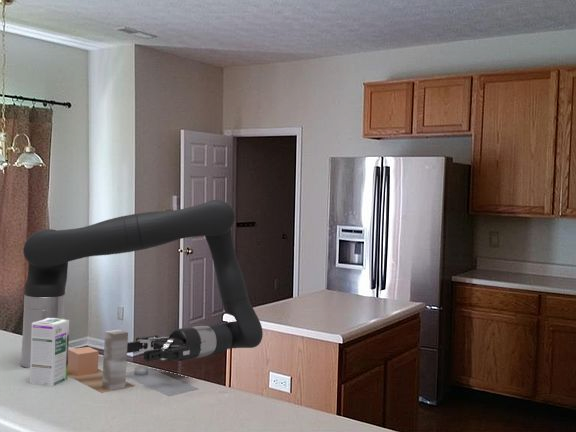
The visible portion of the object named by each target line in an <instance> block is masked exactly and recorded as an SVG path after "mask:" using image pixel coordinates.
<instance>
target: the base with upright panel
mask: <svg viewBox="0 0 576 432" xmlns="http://www.w3.org/2000/svg"><path fill="white" fill-rule="evenodd" d="M128 340H129V332H128V331H125V330H121V329H115V330H114V329H113V330H105V331H104V345H103V346H104V347H103V363H102V365H103V366H102V367H103V368H102V370H101V369H100V368H98V373H92V374H87V375H81V376H76V375H74V374H72V373H70V372H68V378H72V379H73V380H76V381H78V382H79V383H82V384H83V385H85V386H87V387H89V388H91V389H93V390H95V391H97V392H98V393H101V394H103V393H108V392H113V391H114V392H115V391H118V390H122V389H127V388H131V387H135V385H134V384H132V383H129V381H128V382H127V381H126V380H127V379H126V378H127V377H126V372H127V362H128V360H127V359H128V358H127V357H128V353H127V343H128V342H129V341H128Z"/></svg>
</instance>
